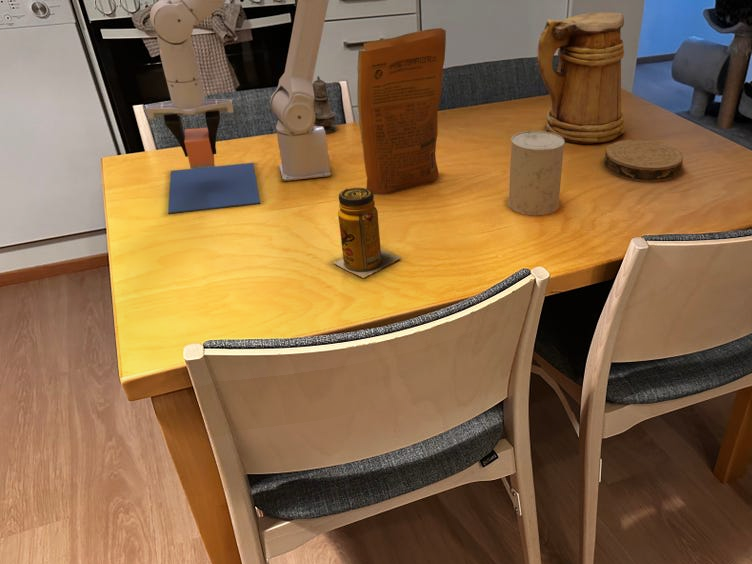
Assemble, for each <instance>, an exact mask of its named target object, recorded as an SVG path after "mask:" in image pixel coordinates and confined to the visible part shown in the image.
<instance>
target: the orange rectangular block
mask: <svg viewBox="0 0 752 564" xmlns="http://www.w3.org/2000/svg"><path fill="white" fill-rule="evenodd" d="M184 135H185V141H184V143H185V147H186V151H187V155H188V157H187V158H188V159H187V160H188V162H189V167H190V168H189V169H195V168H205V167H215V166H216V165H215V164H216V163H215V154H213V153H212V149H211V142H210V136H209V132H208V128H207V127H198V128H185V129H184Z"/></svg>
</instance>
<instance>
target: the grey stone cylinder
mask: <svg viewBox="0 0 752 564" xmlns="http://www.w3.org/2000/svg"><path fill="white" fill-rule="evenodd" d="M510 142H511V144H510V145H511V147H510V163H509V187H508V189H509V190H508V201H507V204H508V207H509V208H510V209H511V210H512V211H514V212H516V213H518V214H522V215H527V216H544V215H550V214H553V213H554V212H557V210H558V209H559V207H560V204H559V203H560V193H561V180H562V171H563V159H564V149H565V143H566V141H564V139H563V138H562V137H561V136H559V135H557V134H554V133H551V132H548V131H544V130H526V131H521V132H517V133H514V134H513V135H512V137H511V138H510Z"/></svg>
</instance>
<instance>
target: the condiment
mask: <svg viewBox="0 0 752 564" xmlns="http://www.w3.org/2000/svg"><path fill="white" fill-rule="evenodd" d="M338 202H339V210H338V211H337V212H338V213H337V218H338V224H339V234H340V240H341V241H340V243H341V250H342V251H341V252H342V258H341V259H338V260H336V261H333V262H332V264H333V265H336V266H338V267H340V268H341V269H344V270H345V271H348V272H350V273H352V274H354V275H356V276H359V277H361V278H363V279H364V278H366V277H368V276H371V275H372V274H375V273H377V272H378V271H380V270H382V269H383V268H385V267H386V266H389V265H391V264H393V263H395V262H397V261H398V260H400V259H402V256H399V255H396V254H394V253H391V252H388V251H387V250H384V249H382V248H381V237H380V224H379V212H378V209H377V207H376V205H375V202H376V201H375V195H374V193H372V191H370V190H369V189H366V187H348V188H345V189H344V190H342V191H340V192H339V193H338Z"/></svg>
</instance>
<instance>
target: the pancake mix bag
mask: <svg viewBox="0 0 752 564" xmlns="http://www.w3.org/2000/svg"><path fill="white" fill-rule="evenodd" d="M446 43H447V31H446V29H443V28H442V27H437V28H429V29H424V30H418V31H413V32H409V33H405V34H402V35H398V36H395V37H390V38H384V39H379V40H371V41H368V42H364V43H363V47H364V49H359V50H358V56H357V67H356V68H357V95H356V96H357V111H358V123H359V129H360V130H359V131H360V138H361V139H360V140H361V145H362V154H363V155H362V156H363V162H364V167H365V169H364V170H365V175H366V187H365V189H369V190H370V191H372V193H373V194H378V195H385V194H391V193H392V194H393V193H395V192H400V191H404V190H407V189H410V188H414V187H418V186H422V185H427V184H431V183H434V182H435V181H437V180H438V178H439V174H440V173H439V168H438V163H437V158H436V151H437V150H436V149H437V141H438V140H437V139H438V135H439V134H438V129H439V127H438V126H439V125H438V124H439V123H438V118H439V117H438V116H439V115H438V112H439V106H440V101H441V95H442V88H443V75H444V65H445V59H446V46H447V44H446Z"/></svg>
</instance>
